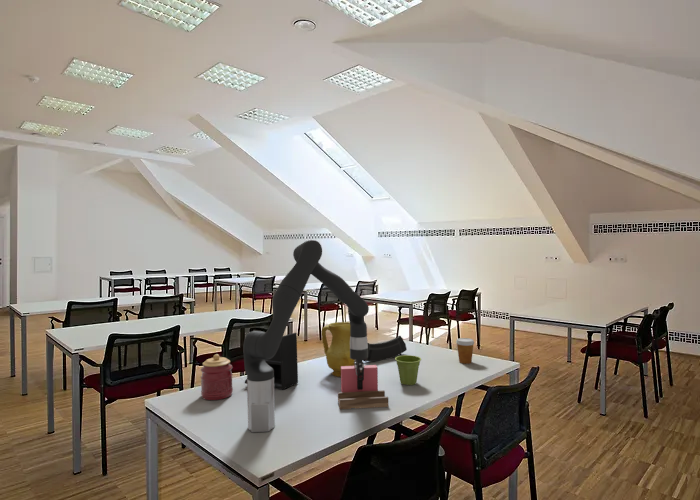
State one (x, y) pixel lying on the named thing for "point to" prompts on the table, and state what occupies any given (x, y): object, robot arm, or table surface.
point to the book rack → (362, 399)
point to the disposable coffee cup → (465, 350)
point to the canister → (216, 378)
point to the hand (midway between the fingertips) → (359, 387)
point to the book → (351, 378)
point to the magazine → (386, 349)
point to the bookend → (285, 363)
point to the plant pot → (408, 368)
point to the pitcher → (338, 346)
